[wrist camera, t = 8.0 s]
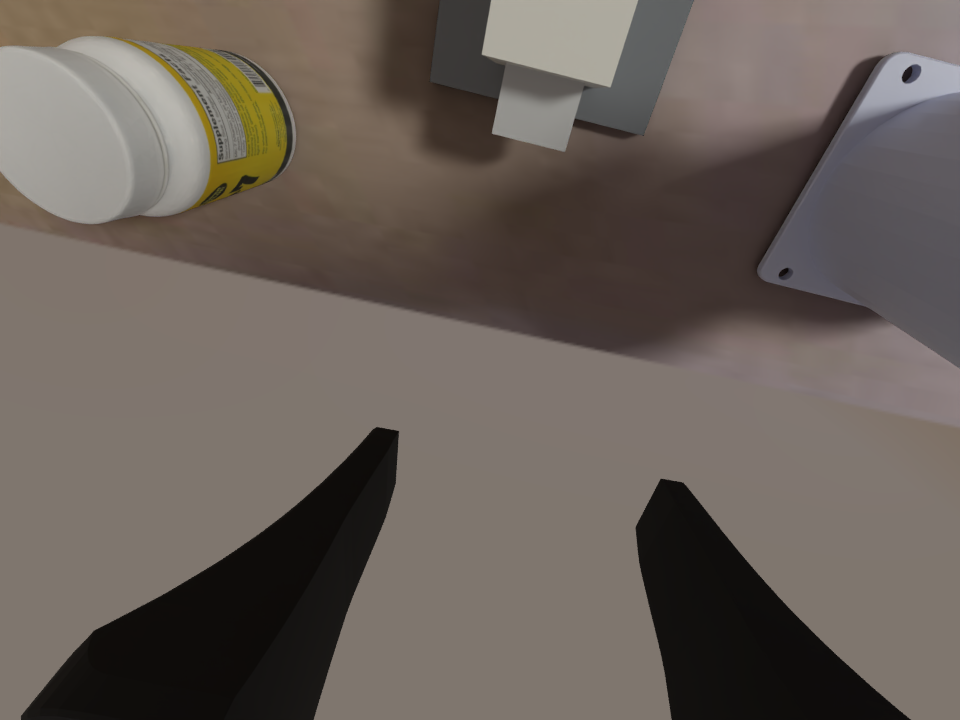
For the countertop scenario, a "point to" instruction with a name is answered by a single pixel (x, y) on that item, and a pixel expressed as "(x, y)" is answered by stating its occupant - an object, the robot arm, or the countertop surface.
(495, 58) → the block
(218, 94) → the supplement bottle
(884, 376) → the countertop surface
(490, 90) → the coaster
